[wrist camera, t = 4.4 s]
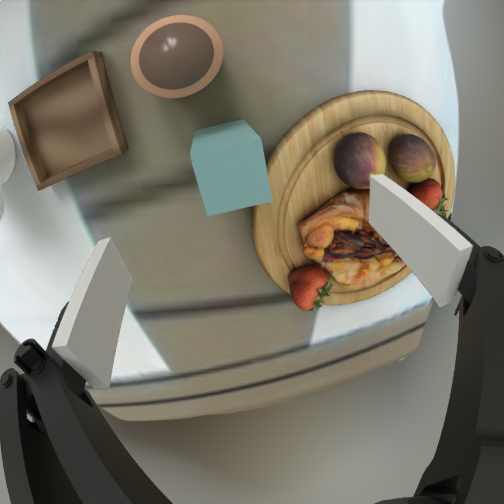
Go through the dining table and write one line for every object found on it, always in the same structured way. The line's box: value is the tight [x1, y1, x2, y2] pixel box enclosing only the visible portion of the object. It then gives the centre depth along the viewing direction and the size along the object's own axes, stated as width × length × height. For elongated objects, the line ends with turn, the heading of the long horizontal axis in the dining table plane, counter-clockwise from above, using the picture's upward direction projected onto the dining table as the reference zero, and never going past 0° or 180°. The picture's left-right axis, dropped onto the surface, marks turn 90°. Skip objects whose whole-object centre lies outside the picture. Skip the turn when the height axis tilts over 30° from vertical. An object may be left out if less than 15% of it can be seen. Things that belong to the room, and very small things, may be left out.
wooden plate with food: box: [252, 90, 455, 311], centre depth 32 cm, size 32×32×8 cm
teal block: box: [190, 119, 272, 217], centre depth 24 cm, size 5×5×10 cm
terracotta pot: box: [130, 15, 224, 98], centre depth 19 cm, size 7×7×7 cm
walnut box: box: [8, 51, 128, 191], centre depth 21 cm, size 11×11×2 cm
